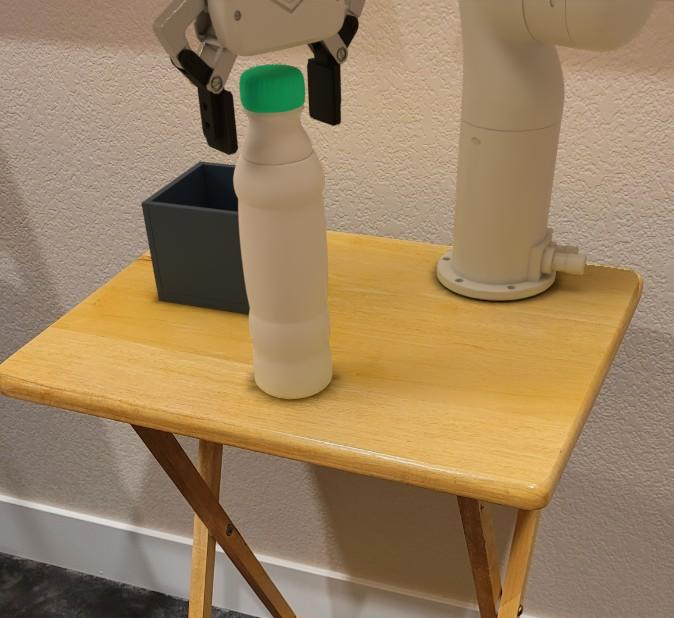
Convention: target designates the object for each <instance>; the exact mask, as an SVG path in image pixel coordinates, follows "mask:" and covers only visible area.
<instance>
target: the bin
mask: <svg viewBox="0 0 674 618" xmlns="http://www.w3.org/2000/svg"><path fill="white" fill-rule="evenodd" d="M235 167H236V164H229V163H221V162H210V161H201V160H200V161H198V162H197V163H195V164H194V165H193V166H191V167H190V168H189V169H187V170H186V171H184V172H182V173H181V174H180V175H179V176H177V177H175V178H174V179H173V180H171V181H170V182H169V183H167V184H166V185H164V186H163V187H162V188H160V189H158V190H157V191H156V192H155V193H153V194H152V195H150V196H149V197H147V198H146V199H145V200H143V201H142V202H141V203H140V204H141V209H142V215H143V221H144V225H145V232H146V238H147V242H148V248H149V253H150V254H149V255H150V259H151V265H152V270H153V271H152V272H153V276H154V281H155V287H156V292H157V298H158V301H160V302H167V303H174V304H179V305H180V304H181V305H186V306H187V305H188V306H193V307H200V308H205V309H210V310H211V309H212V310H218V311H225V312H231V313H238V314H245V315H249V311H250V306H249V302H248V297H247V292H246V286H245V279H244V272H243V263H242V255H241V245H240V233H239V216H238V197H237V195H236V193H235V189H234V183H233V177H234V171H235Z"/></svg>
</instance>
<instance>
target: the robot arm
mask: <svg viewBox="0 0 674 618" xmlns="http://www.w3.org/2000/svg"><path fill="white" fill-rule="evenodd" d="M658 1H659V0H457V2H458V10H459V19H460V27H461V29H460V30H461V39H462V40H461V41H462V90H461V105H460V120H459V136H458V151H457V152H458V153H457V168H456V169H457V170H456V185H455V200H454V216H453V217H454V219H453V233H452V235H453V236H452V249H450V250H448V251H446V252H445V253H443V254H442V256H440V257H439V259H438V261H437V263H436V264H437V265H436V277H437V279H438V281H439V282H440V283H441V284H442V285H443V287H445V288H447V289H448V290H450V291H452V292H453V293H456V294H458V295H461V296H464V297H467V298H468V297H469V298H472V299H477V300H486V301H514V300H521V299H526V298H530V297H533V296H536V295H538V294H541V293H543V292H545V291H546V290H547V289H549V288H550V287H551V286H552V285H553V284H554V282H555V281H556V275H557V272H563V273H566V274H571V275H579V276H583V274H584V272H585V268H586V264H587V257H588V255H587V254H581V253H579V250H580V248H579V246H576V245H575V246H574V245H560V244H557V241H553V233H554V228H552V227H548V223H549V216H550V209H551V200H552V194H553V187H554V186H553V185H554V180H555V171H556V164H557V156H558V148H559V147H558V146H559V140H560V135H561V134H560V132H561V126H562V119H563V113H564V107H565V106H564V105H565V80H564V72H563V68H562V64H561V61H560V58H559V57H560V56H559V54H558V51H557V48H556V46H559V47H563V48H570V49H577V50H583V51H588V52H589V51H590V52H597V53H599V52H600V53H607V52H609V53H610V52H614V51H617V50H620V49H622V48H624V47H625V46H627V45H628V44H629V43H631V42H632V41H633V40H634V39H635V38H636V37H637V36H638V35H639V33H640V32H641V31H642V30H643V28H644V26H645V25H646V23H647V21H648V20H649V18H650V17H651V15H652V12H653V11H654V9H655V7H656V5H657V3H658ZM365 4H366V0H172V1H171V2H170V3H169V5H167V6H166V7H165V9H164V10H163V11H162V12H160V14H159V15H158V16H157V17H156V18H155V19H154V21H153V23H152V30H153V33H154V35H155V37H156V38H157V40H158V41H159V43H160V45H161V46H162V48H163V49H164V52H166V53H165V54H168V56H169V61H170V63H171V65H172V66H174V67H175V69H177V70H178V72H180V73H181V74H182V75H183V76H184V77H185V78H186V79H187V80H188V82H189V84H190V85H191V86H193V87H196V88H197V97H198V107H199V112H200V113H199V115H200V122H201V130H202V134H203V137H204V138H205V139H206V140H205V141H206V144H207V145H208V147H209V148H211V149H214V150H215V151H219V152H221V153H223V154H225V155H228V156H231V155H233V154H236V153H238V150H239V142H238V132H237V131H238V130H237V122H236V112H235V101H234V94H233V93H232V91H230V90H227V89H226V88H225V86H226V84H227V81H228V79H229V76H230V74H231V72H232V69H233V67H234V65H235V62H236V60H237V59H238V56H240V57H254V56H258V55H265V54H269V53H273V52H277V51H282V50H287V49H291V48H296V47H300V46H304V45H305V46H306V45H307V47H308V48H309V50H310V51H311V53H312V54H313V57H310V58H307V63H306V75H307V98H308V101H307V102H308V115H309V117H310V118H311V119H312V120H315V121H318V122H321V123H324V124H326V125H330V126H332V127H336V126H339V125H341V123H342V75H341V74H342V71H341V65H343V64H345V62H346V61H347V60H348V57H349V49H348V48H349V47H350V45H351V43H352V41H353V40H354V38H355V36H356V34H357V32H358V30H359V27H360V23H359V22H360V21H359V18H361V16H362V12H363V9H364V6H365ZM191 24H193V29H194V34H195V36H196V38H197V40H198V42H200V43H199V46H198V48H197V51H196V52H195V51H194V50H192V48H191V46H190V44H189V41H188V39H187V37H186V31H187V29H188V27H189V26H190V25H191Z"/></svg>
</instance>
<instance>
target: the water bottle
mask: <svg viewBox="0 0 674 618" xmlns="http://www.w3.org/2000/svg"><path fill="white" fill-rule="evenodd" d="M304 77H305V76H304V74H303V72H302V71H301V69H300V68H298V67H296V66H294V65H289V64H282V63H279V64H278V63H275V64H274V63H272V64H259V65H255V66H252V67H249V68H247V69H245V70H244V71H243V72H242V73H241V74H240V77H239V82H238V84H239V86H238V87H239V89H238V90H239V98H240V99H239V100H240V103H241V106H242V108H243V110H242V111H243V114H245V116H246V117H247V119H248V128H247V131H246V133H245V135H244V138H243V140H242V143H241V150H240V153H239V155H238V158H237V162H236V164H235V165H236V167H235V171H234V177H233V183H234V189H235V193H236V195H237V197H238V216H239V233H240V245H241V255H242V263H243V272H244V279H245V286H246V292H247V297H248V302H249V306H250V311H249V314H248V327H249V335H250V339H251V340H250V341H251V343H252V349H253V350H252V364H253V365H252V366H253V375H254V381H255V383H256V385H257V387H258V389H260V390H261V391H263V392H264V393H265V394H267V395H269V396H271V397H274V398H278V399H284V400H298V399H299V400H300V399H305V398H309V397H312V396H314V395H317V394H318V393H320V392H322V391H323V390H325V389H326V388H327V387H328V386H329V384H330V382H332V378H333V359H332V358H333V357H332V350H331V345H330V338H331V315H330V310H329V309H330V308H329V306H328V294H329V292H328V291H329V259H328V258H329V257H328V255H329V254H328V236H327V235H328V234H327V221H326V220H327V219H326V211H325V203H324V196H323V193H324V190H325V183H326V179H325V171H324V168H323V164H322V162H321V160H320V159H319V156H318V155H317V152H316V150H315V149H313V144H312V140H311V138H310V136H309V135H308V133H307V131H306V130H305V129H304V127H303V125H302V122H301V115H302V113H303V111H305V102H306V82H305V78H304Z"/></svg>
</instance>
